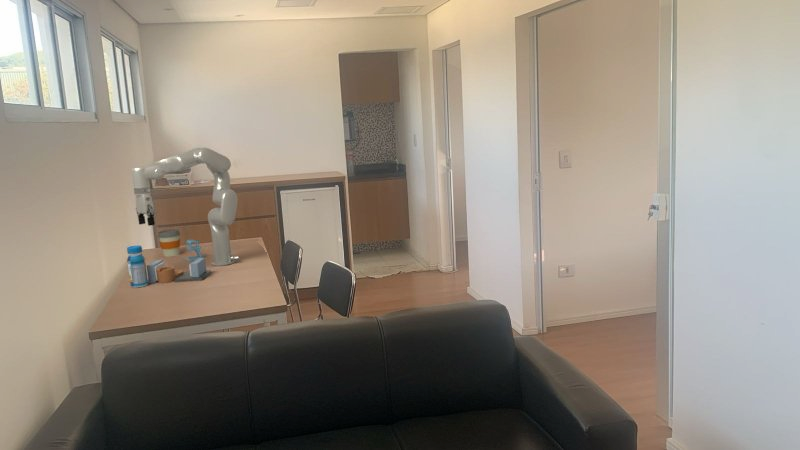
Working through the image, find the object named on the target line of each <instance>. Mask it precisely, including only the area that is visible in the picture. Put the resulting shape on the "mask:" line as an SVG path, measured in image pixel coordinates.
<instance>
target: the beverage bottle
mask: <svg viewBox="0 0 800 450" xmlns="http://www.w3.org/2000/svg"><path fill="white" fill-rule="evenodd" d="M126 251H127V254H128V257H127V259H126V263H127V269H128V275H129V276H128V277H129V283H130V287H131V288H132V289H134V288H144V287H146V286H148V285H149V280H148V272H147V263H146V262H145V260H146V258H145V256H144V255H143V254H142V253H143V247H142V245H138V244H137V245H132V246H130V245H129V246H127V247H126Z"/></svg>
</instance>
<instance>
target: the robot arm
mask: <svg viewBox="0 0 800 450" xmlns="http://www.w3.org/2000/svg"><path fill="white" fill-rule="evenodd" d="M200 164H203V165H204V164H206V168H207V169H208V170H209V171H210V172H211V174H212V175H213V177H214V178H213V179H214V180H213V184H214V185H213V190H212V202H213V204H215V205H216V206H220V207H214V208H212V209H211V210H209V211H208V214H207V221H208V225H209V227H210V233H211V234H210V235H211V242H212V243H211V245H212V252H213V260H214V261H212V262H211V265H212V266H215V267H219V266H229V265H231V264H234V263H235V262H236V261H237V260H240V256H238V255H235V256H234V254H233V253H232V249H231V240H230V231H229V227H230V226H232V225H233V224H234V223H235V221H236V215H237V209H238V195H237V193H236V192H235V190H233V189H231V187H230V186H231V177H230V174H229V173H230V172H229V170H230V169H231V167H232V163H231V160H230V159H229V158H228V157H227V156H225V155H223V154H222V153H218V152H217V151H214V150H212V149H211V148H208V147H196V148H195V147H194V148H192V149H190V150H187V151H184V152H182V153H179V154H177V155H173V156H170V157H167V158H164V159H160V160H157V161H154V162H152V163H148V164H147V165H144V166H134V167H132V168H131V170H130V171H131V172H130V173H131V178H132V179H131V180H132V184H133V192H134V194H133V195H134V196H135V210H136V214H137V218H138V225H145V224H146V221H147V226H149V227H150V226H154V225H156V224H155V208H154V207H155V206H154V202H153V198H152V194H151V187H150V186H151V185H150V180H151V181H152V180H153V181H155V180H156V181H158V180H161V179H164V177H165V175H166V174H170V173H177V172H182V171H185V170H187V169H189V168H192V167H196V166H198V165H200ZM145 215H146V216H147V217H145ZM146 219H147V220H146Z"/></svg>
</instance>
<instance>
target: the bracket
mask: <svg viewBox="0 0 800 450" xmlns="http://www.w3.org/2000/svg"><path fill="white" fill-rule="evenodd" d="M184 272H185V271H184V270H183V269H175V267H174V266H168V267H167V266H165V267H162V268H158V269H157V276H158V282H157V283H158V284H163V285H164V284H170V283H175V279H176V278H177V277H179V276H180V275H181V274H183V273H184Z"/></svg>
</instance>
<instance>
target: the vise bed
mask: <svg viewBox="0 0 800 450" xmlns="http://www.w3.org/2000/svg"><path fill="white" fill-rule="evenodd" d="M206 270H207V271H206V272H204V273H203V274H202V275H201V276H199V277H192V276H190V271H183V272H184V273H183V274H181V275H180V276H179V277H177V278H176V279H175V281H174V283H181V282H182V283H184V282H199V281H203V280H204V279H206V278H207V277H208V276H209V275H210V274H212V270H208V269H206Z"/></svg>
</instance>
